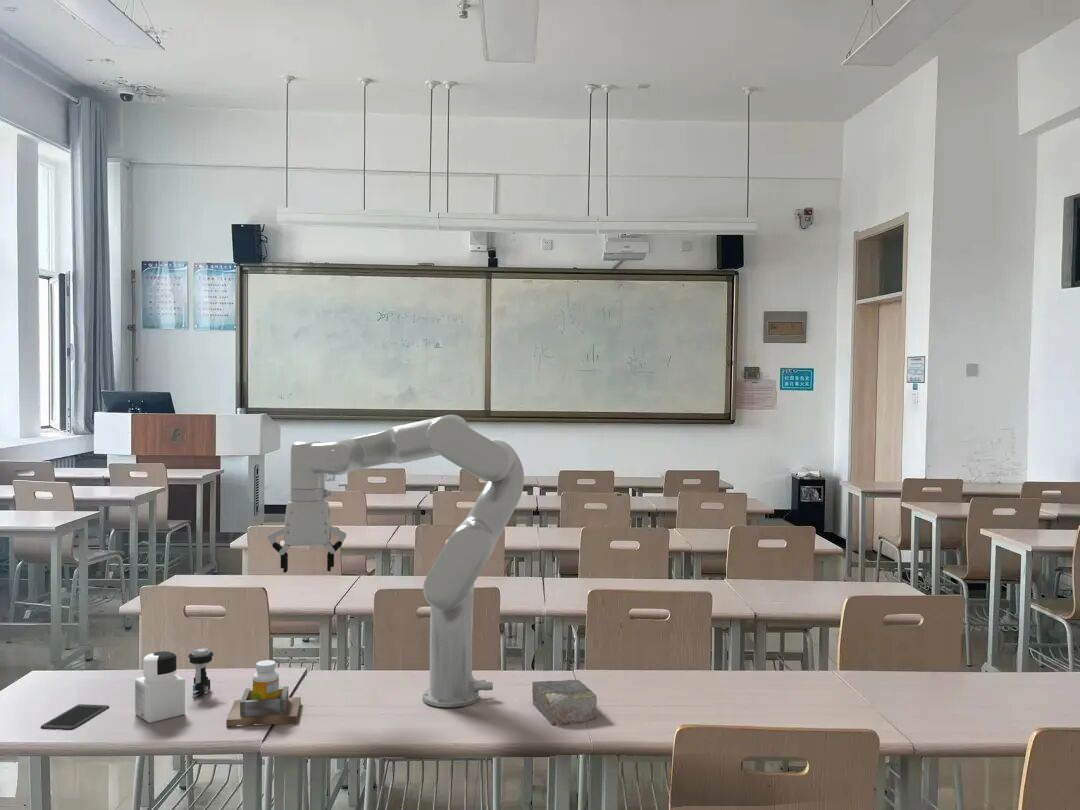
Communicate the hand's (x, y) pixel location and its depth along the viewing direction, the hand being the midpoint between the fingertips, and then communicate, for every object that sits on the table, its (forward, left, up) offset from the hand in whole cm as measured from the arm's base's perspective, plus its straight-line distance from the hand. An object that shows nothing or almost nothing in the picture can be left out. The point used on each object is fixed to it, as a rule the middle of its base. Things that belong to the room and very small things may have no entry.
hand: (307, 570), depth 211 cm
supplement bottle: (+8, +12, -27) cm, 31 cm away
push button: (+24, -4, -28) cm, 37 cm away
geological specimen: (-56, +20, -29) cm, 66 cm away
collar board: (+8, +12, -28) cm, 32 cm away
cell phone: (+47, +7, -29) cm, 56 cm away
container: (+30, +8, -28) cm, 42 cm away
